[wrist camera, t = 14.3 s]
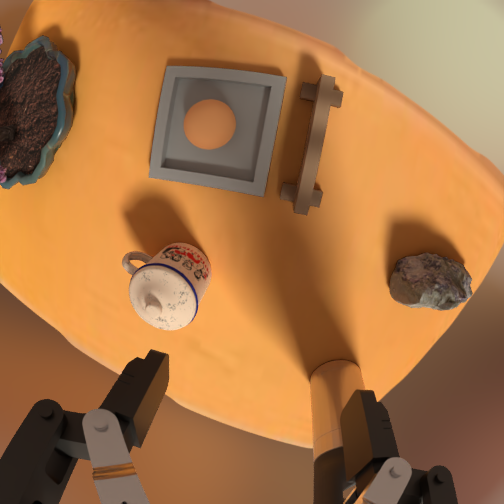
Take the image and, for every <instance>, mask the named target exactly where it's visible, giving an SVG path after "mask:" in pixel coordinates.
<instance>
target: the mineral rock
mask: <svg viewBox="0 0 504 504" xmlns="http://www.w3.org/2000/svg"><path fill="white" fill-rule="evenodd" d="M471 281H472V278H471V276H470V275H469V273H468V271H467V270H466V269H465V267H464V266H463V265H462V264H460V263H458V262H456V261H454V260H453V259H448V258H447V257H440V256H438V255H437V254H434V255H432V254H429V253H428V252H427V253H423V254H421V255H418V256H410V257H405V258H403V259H401V260H399V261H397V265H396V268H395V270H394V272H393V273H392V276H391V279H390V287H389V288H390V294H391V296H392V298H393V299H394V300H395V301H397V302H398V303H400V304H403V305H406V306H409V307H411V308H421V307H428V308H432V309H437V310H440V311H442V310H450V309H453V308H455V307H458V305H459V304H460V303H462V302H463V303H464V302H465V301H466V300H467V299H468V298H469V297H471V296H472V290H471V287H470V284H471Z"/></svg>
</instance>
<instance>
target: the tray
mask: <svg viewBox="0 0 504 504" xmlns="http://www.w3.org/2000/svg"><path fill="white" fill-rule="evenodd" d="M286 81H287V77H283V76H277V75H271V74H265V73H258V72H251V71H243V70H234V69H223V68H211V67H193V66H167V68H166V72H165V77H164V82H163V87H162V92H161V97H160V102H159V108H158V113H157V119H156V126H155V132H154V139H153V146H152V154H151V162H150V170H149V178H156V179H162V180H169V181H176V182H182V183H188V184H195V185H201V186H206V187H212V188H218V189H224V190H229V191H235V192H240V193H245V194H250V195H255V196H261V197H264V194H265V189H266V184H267V179H268V174H269V169H270V164H271V158H272V153H273V148H274V143H275V138H276V133H277V127H278V122H279V117H280V112H281V107H282V102H283V97H284V91H285V86H286ZM208 99H214V100H218V101H221V102H223V103H225V104H226V105H228V106H229V107H230V109H231V110H232V111H233V113H234V115H235V119H236V129H235V132H234V134H233V136H232V138H231V139H230V140H229V141H228V142H227V143H226V144H225V145H223V146H222V147H219V148H216V149H211V150H207V149H201V148H199V147H196V146H195V145H193V144H192V143H191V142H190V141H189V140H188V139H187V137H186V135H185V132H184V118H185V116H186V114H187V112H188V110H189V109H190V108H191V107H192V106H193V105H195V104H196V103H198V102H200V101H203V100H208Z"/></svg>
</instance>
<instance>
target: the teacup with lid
mask: <svg viewBox="0 0 504 504" xmlns="http://www.w3.org/2000/svg"><path fill="white" fill-rule="evenodd" d="M130 260H140V261H143V262H145V263H147V264H146V265H144V266H142V267H140V268H139V269H138V268H137V267H135V266H134V265H132V264H131V263H130ZM122 265H123V267H124V269H125V270H126V271H127V272H128V273H130V274H131V275H133V276H132V278H131V281H130V285H129V296H130V300H131V303H132V305H133V307H134V309H135V311H136V312H137V313H138V315H139V316H140V317H141V318H142V319H143V320H144V321H146V322H147V323H149V324H150V325H152V326H154V327H156V328H159V329H163V330H176V329H180V328H182V327H184V326H186V325H188V324H189V323H190V322H191V321H192V320H193V319H194V317H195V316H196V313H197V310H198V305H199V303H200V301H201V299H202V298H203V296H204V294H205V292H206V290H207V288H208V286H209V284H210V281H211V275H212V273H211V267H210V264H209V261H208V259H207V258H206V256H205V255H204V254H203V253H202V252H201V251H200V250H199V249H197V248H196V247H194V246H192V245H190V244H187V243H173V244H170V245H168V246H166V247H164V248H163V249H162V250H161V251H160V252H159V253H158V254H157V255H155V256H154V257H151V256H150V255H148V254H146V253H143V252H138V251H133V252H129V253H127V254H126V255H125V256H124V257H123V260H122Z"/></svg>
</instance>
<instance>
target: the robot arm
mask: <svg viewBox="0 0 504 504" xmlns="http://www.w3.org/2000/svg"><path fill="white" fill-rule="evenodd" d="M168 382H169V355H168V354H166V353H162V352H159V351H156V350H152V349H151V350H150V351H149V353H148V354H147V356H146V358H145V359H141V358H138V357H137V358H135V359H134V360H132V361H131V362H129V363H128V364H127V365H126V367H125V368H124V370H123V371H122V374H121V375H120V376H119V378H118V380H117V381H116V382H115V384H114V386H113V387H112V389H111V390H110V392H109V393H108V395H107V397H106V398H105V400H104V401H103V403H102V405H101V406H100V407H99V408H98V409H94V410H91V411H89V412H88V413H83V414H82V413H76V412H70V411H65V410H63V409H62V408H61V406H60V405H59V404H58V403H57V402H55V401H53V400H50V399H44V400H40V401H38V402H37V403H36V404H35V405H34V406H33V407H32V409H31V410H30V412H29V413H28V415H27V417H26V418H25V419H24V421H23V423H22V424H21V426H20V427H19V429H18V431H17V432H16V434H15V435H14V437H13V438H12V440H11V442H10V443H9V445H8V447H7V448H6V450H5V452H4V454H3V456H2V457H1V459H0V504H59V502H60V499H61V497H62V495H63V492H64V490H65V488H66V485H67V483H68V481H69V478H70V476H71V474H72V472H73V469H74V467H75V465H76V463H77V461H78V459H79V458H80V459H85V460H91V463H92V467H93V479H94V483H95V486H96V489H97V492H98V495H99V498H100V501H101V503H102V504H150V503H149V501H148V499H147V497H146V494H145V492H144V490H143V488H142V485H141V483H140V480H139V478H138V476H137V473H136V471H135V468H134V466H133V463H132V460H131V458H130V455H129V453H130V451H131V449H132V447H133V446H136V447H139V448H141V446H142V444H143V441H144V439H145V437H146V434H147V432H148V430H149V428H150V425H151V423H152V421H153V419H154V416H155V414H156V412H157V410H158V408H159V405H160V403H161V401H162V399H163V396H164V394H165V392H166V390H167V386H168ZM310 388H311V407H312V427H313V449H314V503H313V504H458V502H457V497H456V492H455V488H454V483H453V479H452V475H451V473H450V471H449V470H448V469H447V468H446V467H444V466H434V467H433V468H431V469H430V470H429V471H422V470H417V469H413V468H411V467H410V465H409V463H408V462H407V461H406V460H404V459H402V458H400V456H399V453H398V449H397V445H396V441H395V437H394V433H393V430H392V425H391V422H390V418H389V415H388V411H387V410H386V408H385V407H384V406H383V404H382V403H381V402H377V401H376V397H375V394H374V391H372V390H365V386H364V382H363V378H362V374H361V371H360V368H359V367H358V366H357V365H356V364H355V363H353V362H350V361H346V360H335V361H331V362H327V363H325V364H323V365H321V366H320V367H318V368H317V369H316V370H315V371H314V372H313V374H312V375H311V378H310ZM354 485H356V487H355V488H354V489H353V491H352V492H351V493H350V495H349V496H348V497H347V498H346V499H344V498H343V491H344V490H346V489H348V488H349V487H352V486H354Z"/></svg>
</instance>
